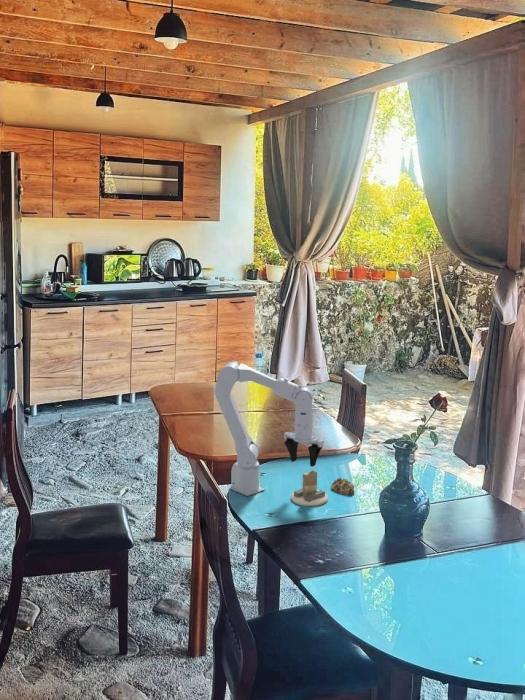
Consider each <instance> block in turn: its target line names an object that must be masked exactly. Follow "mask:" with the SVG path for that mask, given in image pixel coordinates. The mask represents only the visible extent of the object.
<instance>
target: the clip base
mask: <svg viewBox="0 0 525 700" xmlns="http://www.w3.org/2000/svg"><path fill="white" fill-rule="evenodd" d="M328 498H329V495H328V494H327V493H326V491H325V490H322V489H317V491H316V492H314V493H311V494H308V495H305V496H304V498H303V488H300V489H297V490H295V491H293V492H292V493H291V494H290V499H291V502H292V503H294V504H296V505H299V506H304V507H317V506H322V505H324V504H326V503H327V502H328V500H329V499H328Z"/></svg>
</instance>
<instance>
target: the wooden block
mask: <svg viewBox="0 0 525 700" xmlns="http://www.w3.org/2000/svg"><path fill="white" fill-rule="evenodd" d="M302 489H303V498H304V496H305V495H308V494H311V493H314V492H316V491H317V490H318V471H316V470H310V471H307V472H305V473H302Z"/></svg>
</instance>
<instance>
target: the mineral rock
mask: <svg viewBox="0 0 525 700" xmlns="http://www.w3.org/2000/svg"><path fill="white" fill-rule="evenodd" d="M330 489H331V491H334V492H335V493H339V494H341V495H346V496H353V495H354V494H355V490H354V489H355V486H354V484H352V483H351V481H349V480H348V479H347V478H343V479H342V478H340V477H339V478H337V479H335V480H334V481H333V482H332V483H331V486H330Z"/></svg>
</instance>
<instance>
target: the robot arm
mask: <svg viewBox="0 0 525 700" xmlns="http://www.w3.org/2000/svg"><path fill="white" fill-rule="evenodd" d="M238 380H239V383H244V382H248V381H250V382H251V383H252V382H253V383H255V384H258V385H260V386H264V387H265V388H266V387H267V388H269V389H272V392H273V394H274V395H276V396H278V397H281V398H283V399H285V400H288V401H290V402H294V404H295V411H294V432H290V431H286V432H284V433H283V439H284V440H285V441H284V445H285V448H286V449H287V451H288V453H289V457H290V461H291V462H296V461H297V459H298V445H299V443H304V444H309V445H310V446H308V447H307V450H308V452H309V465H310V467H314V466H316V463H317V461H318V460H317V459H318V458H319V454H320V452H321V451H322V449H323V447H324V444H325V443H324V442H325V441H324V439H320V438H319V437H316V436H313V417H314V416H313V415H314V413H313V400H314V399H313V398H314V392H313V390H312V389H311V388H310V387H308V386H307V385H302V384H297V383H294V382H293V381H290V380H289V378H287V377H285V378H283V377H280V378H277V379H275V378H273V377H271V376H269V375H267V374H265V373H263V372H261V371H259V370H256V369H255V368H253V367H250V366H249V365H247V364H245V363H239V362H238V361H236V360H229V361H228V362H226V363H225V364H224V366H223V368H221V369H220V371H219V372H218V374H217V376H216V383H215V389H214V396H215V398H216V401H217V402H218V405H219V408H220V410H221V413H222V415H223V417H224V420H225V421H226V422H225V423H226V424H227V426H228V429H229V431H230V434H231V436H232V439H233V441H234V446H235V447H234V449H235V453H236V462H235V463H233V465H232V467H231V471H230V473H231V476H230V477H231V479H230V481H231V486H229V489H230V490H232V491H235V492H238V493H239V494H242V495H244V496H246V497H247V496H248V497H249V496H251V495H255V494H258V493H259V492H263V491H265V488H264V487H262V486H260V462H259V461H258V456H259V454H260V448H259V445H258V444H257V443H255V442H254V440H253V438H252V436H250V435H249V433H248V431H247V428H246V426H245V424H244V421H243V418H242V416H241V414H240V411H239V409H238V406H237V405H236V402H235V400H234V397H233V394H232V390H233V387H234V385H236V383H237V382H238Z"/></svg>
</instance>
